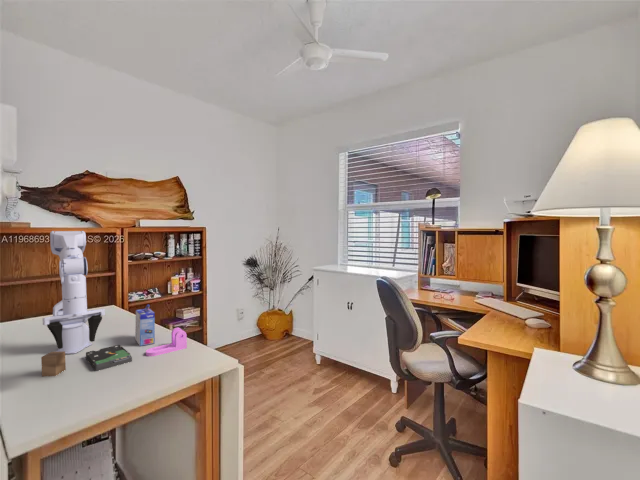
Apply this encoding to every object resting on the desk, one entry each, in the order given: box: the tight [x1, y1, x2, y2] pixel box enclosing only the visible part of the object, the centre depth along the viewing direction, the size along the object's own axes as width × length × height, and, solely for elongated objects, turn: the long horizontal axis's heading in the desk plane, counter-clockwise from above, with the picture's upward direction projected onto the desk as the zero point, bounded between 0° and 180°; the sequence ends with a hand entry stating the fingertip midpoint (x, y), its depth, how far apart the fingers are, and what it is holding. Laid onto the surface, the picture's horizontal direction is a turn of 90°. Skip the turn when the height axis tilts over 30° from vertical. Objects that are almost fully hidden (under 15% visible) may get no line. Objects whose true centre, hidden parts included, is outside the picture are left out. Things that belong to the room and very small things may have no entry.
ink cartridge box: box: [134, 303, 156, 347], centre depth 123 cm, size 10×6×14 cm, turn 40°
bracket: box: [145, 327, 188, 357], centre depth 114 cm, size 13×6×7 cm, turn 131°
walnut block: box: [40, 351, 67, 377], centre depth 97 cm, size 4×4×6 cm
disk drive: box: [85, 344, 133, 372], centre depth 106 cm, size 10×3×15 cm
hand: (76, 344), depth 92 cm, fingers open, 7 cm apart
